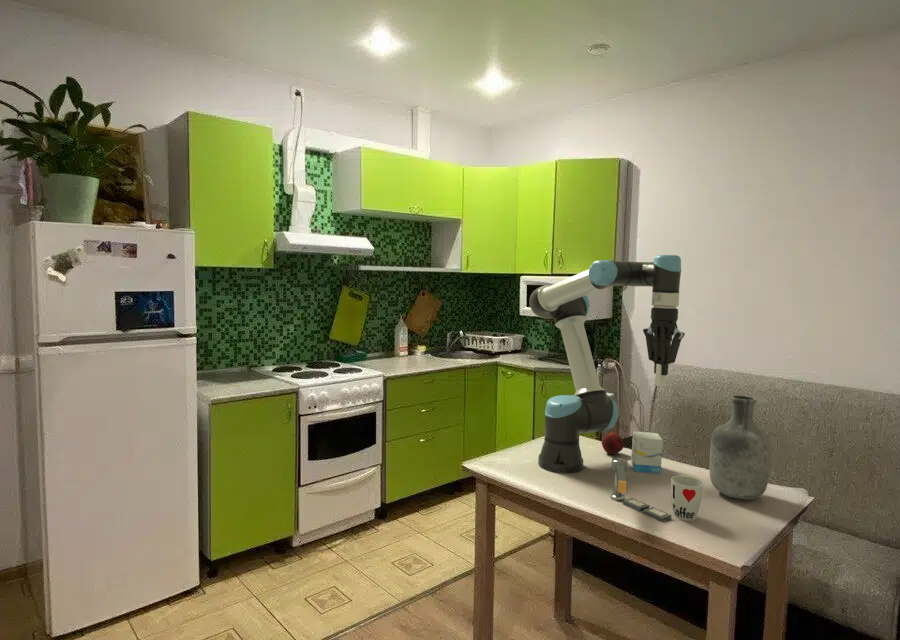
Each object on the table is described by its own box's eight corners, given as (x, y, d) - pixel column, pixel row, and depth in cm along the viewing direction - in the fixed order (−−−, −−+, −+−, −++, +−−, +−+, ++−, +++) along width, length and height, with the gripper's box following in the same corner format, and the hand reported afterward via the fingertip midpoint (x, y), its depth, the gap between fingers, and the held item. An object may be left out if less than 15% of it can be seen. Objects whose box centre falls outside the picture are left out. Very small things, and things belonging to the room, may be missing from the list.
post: (607, 497, 161) (609, 469, 160) (616, 494, 163) (618, 467, 162) (618, 502, 157) (620, 473, 157) (627, 499, 160) (629, 471, 159)
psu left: (622, 503, 156) (622, 500, 156) (632, 501, 158) (632, 497, 158) (640, 511, 151) (640, 508, 151) (649, 509, 153) (649, 505, 153)
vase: (769, 494, 167) (777, 397, 165) (764, 511, 154) (773, 406, 151) (712, 481, 176) (718, 389, 174) (703, 497, 163) (709, 397, 160)
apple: (609, 449, 206) (610, 428, 206) (627, 455, 200) (629, 433, 200) (597, 453, 202) (598, 431, 201) (616, 458, 196) (617, 437, 195)
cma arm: (611, 466, 162) (611, 457, 162) (626, 468, 161) (627, 458, 161) (613, 491, 142) (613, 481, 142) (630, 494, 141) (631, 483, 141)
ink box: (661, 474, 182) (663, 439, 181) (634, 471, 183) (636, 437, 182) (656, 465, 190) (658, 432, 189) (630, 463, 192) (632, 430, 191)
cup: (663, 516, 149) (666, 480, 148) (676, 507, 155) (678, 473, 154) (694, 526, 143) (696, 489, 142) (706, 517, 149) (708, 481, 148)
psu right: (643, 513, 150) (643, 509, 150) (652, 510, 152) (652, 506, 152) (661, 521, 145) (662, 517, 145) (671, 518, 147) (671, 514, 147)
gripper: (638, 305, 166) (634, 382, 168) (676, 308, 155) (671, 390, 157) (654, 305, 170) (649, 380, 172) (692, 308, 159) (687, 388, 161)
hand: (660, 385), depth 165 cm, fingers closed
